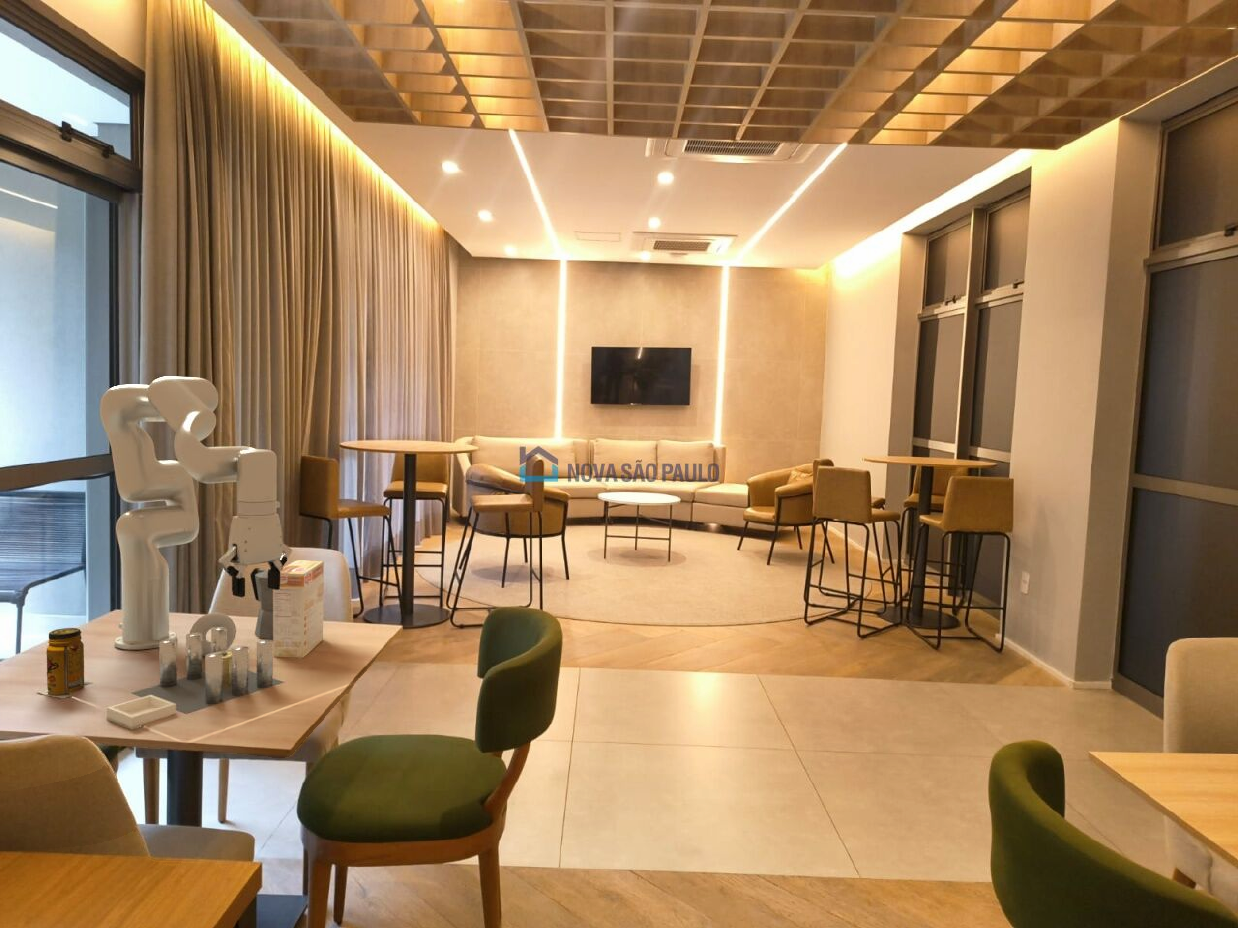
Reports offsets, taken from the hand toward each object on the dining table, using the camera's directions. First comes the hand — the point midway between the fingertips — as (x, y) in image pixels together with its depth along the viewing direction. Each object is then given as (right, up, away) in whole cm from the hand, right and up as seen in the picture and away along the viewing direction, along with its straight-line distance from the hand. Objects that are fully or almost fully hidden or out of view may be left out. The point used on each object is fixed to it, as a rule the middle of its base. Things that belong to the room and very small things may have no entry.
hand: (256, 591), depth 172 cm
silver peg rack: (-5, -18, -6) cm, 20 cm away
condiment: (-32, -18, -10) cm, 38 cm away
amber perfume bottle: (-5, -18, -5) cm, 19 cm away
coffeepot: (-10, -15, +31) cm, 36 cm away
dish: (-11, -19, -23) cm, 32 cm away
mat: (-6, -18, -8) cm, 21 cm away
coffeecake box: (+1, -17, +20) cm, 26 cm away
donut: (-15, -17, +12) cm, 26 cm away
